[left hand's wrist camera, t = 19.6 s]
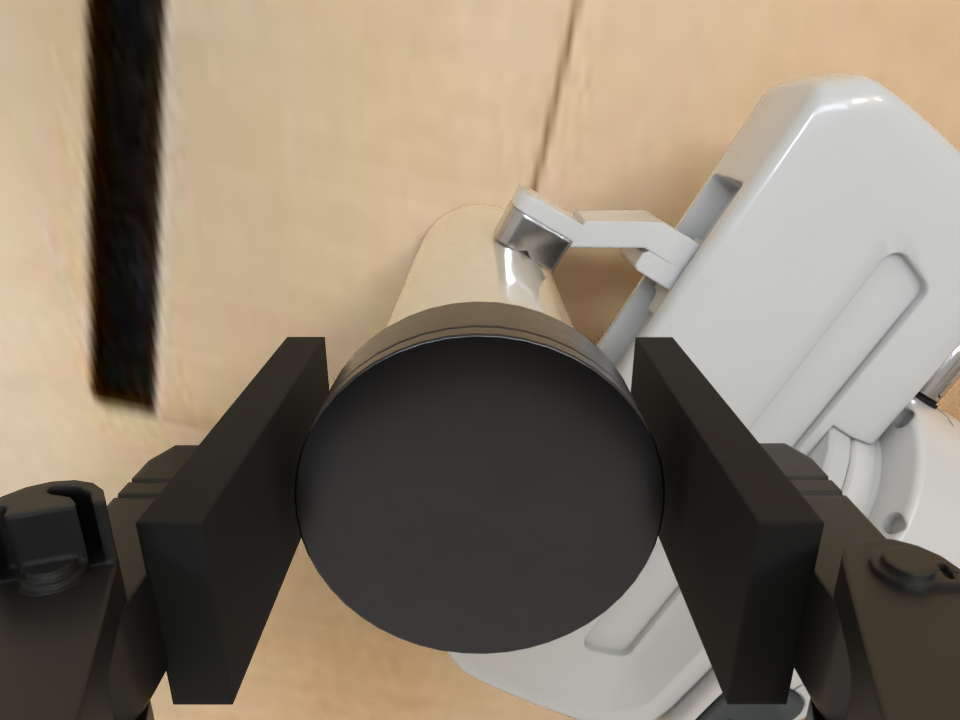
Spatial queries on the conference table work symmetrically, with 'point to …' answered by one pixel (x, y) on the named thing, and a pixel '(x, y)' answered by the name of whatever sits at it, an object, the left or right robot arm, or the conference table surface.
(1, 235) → the conference table surface
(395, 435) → the lid
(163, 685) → the conference table surface
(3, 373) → the conference table surface
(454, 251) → the jar
